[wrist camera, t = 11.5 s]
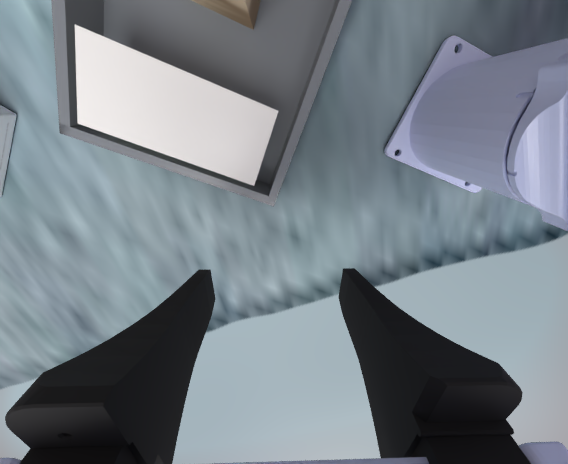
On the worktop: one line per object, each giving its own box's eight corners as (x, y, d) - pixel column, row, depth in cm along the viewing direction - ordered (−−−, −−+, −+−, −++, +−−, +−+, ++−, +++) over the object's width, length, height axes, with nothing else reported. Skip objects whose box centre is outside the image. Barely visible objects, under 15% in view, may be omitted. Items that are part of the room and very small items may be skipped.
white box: (278, 111, 16) (278, 110, 13) (258, 171, 18) (254, 185, 15) (124, 45, 15) (74, 24, 11) (120, 120, 16) (77, 123, 13)
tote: (388, -117, 12) (426, -194, 9) (274, 191, 20) (273, 206, 17) (102, -312, 10) (19, -516, 6) (98, 129, 17) (59, 133, 14)
